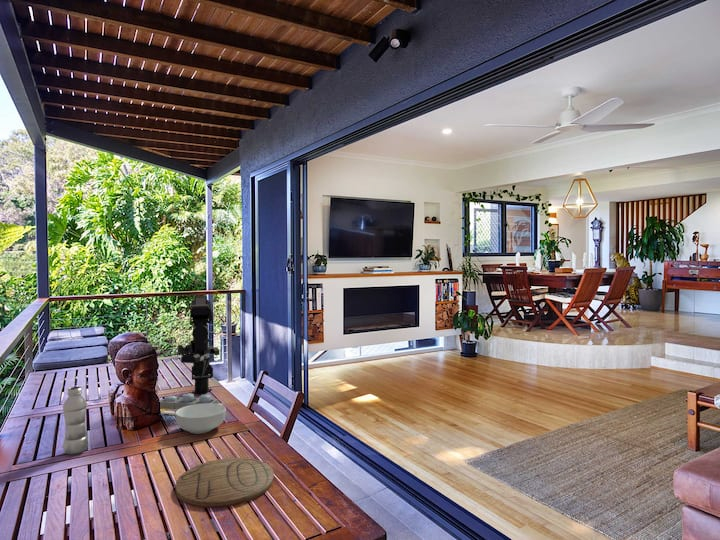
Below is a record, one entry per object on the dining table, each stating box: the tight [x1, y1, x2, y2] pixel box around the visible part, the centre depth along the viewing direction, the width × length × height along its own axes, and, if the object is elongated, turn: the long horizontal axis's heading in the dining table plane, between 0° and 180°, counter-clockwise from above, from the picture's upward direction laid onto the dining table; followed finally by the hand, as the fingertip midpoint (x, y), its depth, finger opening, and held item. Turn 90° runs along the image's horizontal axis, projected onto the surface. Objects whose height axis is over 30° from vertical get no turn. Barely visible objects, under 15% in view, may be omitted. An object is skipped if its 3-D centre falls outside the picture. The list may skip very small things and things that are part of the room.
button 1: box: [164, 395, 178, 402], centre depth 187 cm, size 4×4×3 cm
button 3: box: [198, 393, 212, 404], centre depth 185 cm, size 4×4×3 cm
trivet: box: [174, 457, 275, 509], centre depth 124 cm, size 25×25×2 cm
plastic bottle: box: [62, 386, 89, 455], centre depth 144 cm, size 6×7×20 cm
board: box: [158, 396, 224, 416], centre depth 185 cm, size 14×24×3 cm, turn 79°
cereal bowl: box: [174, 403, 227, 435], centre depth 163 cm, size 17×17×7 cm
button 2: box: [181, 392, 195, 403], centre depth 186 cm, size 4×4×3 cm
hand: (201, 376), depth 184 cm, fingers closed
